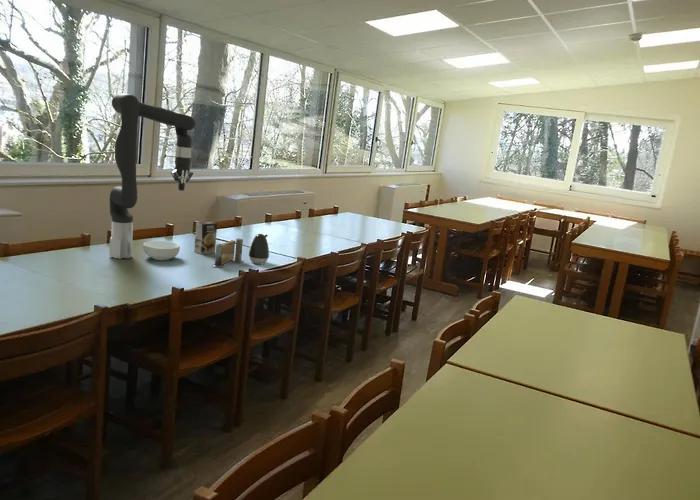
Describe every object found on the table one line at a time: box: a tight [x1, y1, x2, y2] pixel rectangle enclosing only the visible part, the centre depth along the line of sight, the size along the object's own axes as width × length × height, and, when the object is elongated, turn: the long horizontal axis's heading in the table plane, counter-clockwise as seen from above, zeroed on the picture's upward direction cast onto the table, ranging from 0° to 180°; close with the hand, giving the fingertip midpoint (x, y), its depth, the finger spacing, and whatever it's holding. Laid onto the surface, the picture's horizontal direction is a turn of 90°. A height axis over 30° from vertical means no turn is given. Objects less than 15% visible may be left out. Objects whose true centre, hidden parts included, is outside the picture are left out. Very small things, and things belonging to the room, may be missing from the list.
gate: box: [221, 239, 236, 265], centre depth 268 cm, size 2×14×10 cm, turn 167°
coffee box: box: [193, 221, 218, 255], centre depth 282 cm, size 9×6×16 cm
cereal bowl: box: [142, 240, 181, 261], centre depth 262 cm, size 17×17×7 cm
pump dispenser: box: [248, 233, 270, 265], centre depth 275 cm, size 10×10×15 cm
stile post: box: [231, 237, 245, 265], centre depth 271 cm, size 4×4×12 cm
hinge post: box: [212, 243, 224, 269], centre depth 259 cm, size 5×5×11 cm
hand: (181, 190), depth 273 cm, fingers closed
